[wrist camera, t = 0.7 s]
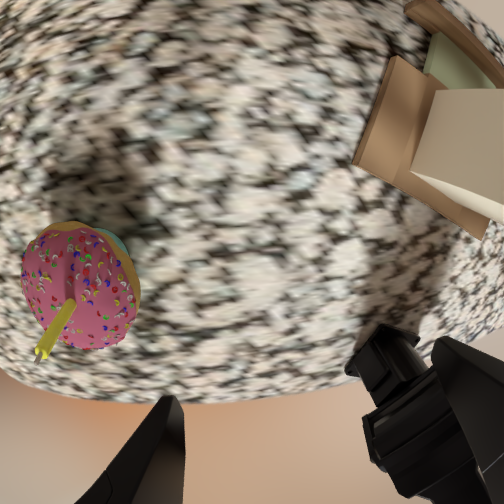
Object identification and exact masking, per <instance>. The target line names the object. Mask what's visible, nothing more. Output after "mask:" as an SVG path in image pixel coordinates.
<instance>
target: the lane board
mask: <svg viewBox="0 0 504 504" xmlns="http://www.w3.org/2000/svg"><path fill="white" fill-rule="evenodd" d="M404 14H405V15H407V16H408V17H410V18H411V19H412V20H414V21H415V22H416V23H418V24H419V25H420V26H422V27H423V28H424V29H426V30H427V31H428V32H429V33H431V34H432V37H431V41H430V45H429V50H428V54H427V57H426V61H425V65H424V69H423V72H422V73H421V72H420V71H419V70H417V69H416V68H415V67H413V66H412V65H411V64H409V63H408V62H406V61H405V60H404V59H402V58H401V57H399V56H398V55H397V56H394V57H391V58H390V60H389V63H388V66H387V70H386V73H385V76H384V78H383V81H382V84H381V87H380V90H379V93H378V96H377V99H376V102H375V104H374V107H373V110H372V113H371V115H370V118H369V121H368V123H367V126H366V129H365V131H364V134H363V137H362V139H361V142H360V144H359V147H358V150H357V152H356V155H355V157H354V160H353V162H352V165H354V166H356V167H358V168H360V169H362V170H364V171H366V172H368V173H370V174H372V175H374V176H376V177H378V178H380V179H382V180H384V181H385V182H387V183H389V184H391V185H393V186H394V187H396V188H398V189H400V190H402V191H403V192H405V193H407V194H409V195H410V196H412V197H414V198H415V199H417V200H419V201H420V202H422V203H424V204H425V205H427V206H429V207H430V208H432V209H433V210H435V211H437V212H438V213H440V214H441V215H443V216H444V217H446V218H447V219H449V220H450V221H452V222H453V223H455V224H456V225H458V226H459V227H461V228H462V229H464V230H465V231H466V232H468V233H469V234H471V235H472V236H474V237H475V238H477V239H478V240H480V241H481V240H482V238H483V236H484V233H485V231H486V229H487V226H488V224H489V221H490V218H488V217H486V216H484V215H482V214H480V213H477V212H475V211H473V210H471V209H469V208H467V207H465V206H462V205H460V204H458V203H456V202H454V201H453V200H452V199H450V198H449V197H447V196H446V195H445V194H443V193H442V192H440V191H439V190H438V189H436V188H435V187H433V186H432V185H430V184H429V183H427V182H426V181H424V180H423V179H421V178H420V177H418V176H417V175H415V174H414V173H412V172H410V171H409V170H410V168H411V165H412V162H413V160H414V157H415V154H416V151H417V149H418V146H419V143H420V140H421V137H422V134H423V131H424V128H425V125H426V122H427V119H428V116H429V113H430V109H431V106H432V103H433V99H434V96H435V92H436V90H450V89H504V68H503V67H502V66H501V65H500V63H499V62H498V61H497V60H496V59H495V57H494V56H493V55H492V54H491V53H490V52H489V51H488V50H487V48H486V47H485V46H484V45H483V44H482V43H481V42H480V41H479V40H478V39H477V38H476V37H475V36H474V35H473V34H472V33H471V32H470V31H469V30H468V29H467V28H466V27H465V26H464V25H463V24H462V23H461V22H460V21H459V20H458V19H457V18H456V17H455V16H453V15H452V14H451V13H450V12H449V11H448V10H447V9H445V8H444V7H443V6H442V5H441V4H439V3H438V2H437V1H436V0H413V1H411V2H409V3H408V4H406V6H405V10H404Z"/></svg>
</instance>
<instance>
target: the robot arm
mask: <svg viewBox="0 0 504 504" xmlns="http://www.w3.org/2000/svg"><path fill="white" fill-rule="evenodd" d="M382 329H383V330H382ZM420 339H421V338H420V336H419V335H417V334H414V333H411V332H408V331H405V330H402V329H399V328H396V327H393V326H390V325H387V324H381V325H379V327H378V328H377V329H376V331H375V332H374V333H373V335H372V336H371V337H370V338H369V340H368V341H367V342H366V344H365V345H364V346H363V347H362V349H361V350H360V351H359V353H358V354H357V355H356V356H355V357H354V359H353V360H352V361H351V362H350V364H349V365H348V366H347V367H346V368H345V370H344V371H345V374H346V375H349V376H354V377H361V379H362V381H363V383H364V385H365V387H366V389H367V391H368V392H369V393H370V395H371V397H372V399H373V401H374V403H375V405H376V407H378V408H377V409H376V410H374V411H372V412H371V413H369V414H366V415H365V416H363V417H362V421H363V429H364V434H365V438H366V443H367V447H368V452H369V456H370V461H371V462H372V463H374V464H376V465H377V466H378V468H379V469H380V470H381V471H383V472H385V473H388V474H389V476H390V477H391V479H392V481H393V483H394V485H395V488H396V489H397V492H398V493H399V494H400V495H402V496H404V497H405V498H408V499H410V498H411V497H413V496H419V497H421V498H424V499H427V500H430V501H431V502H432V503H433V504H504V362H503V361H501V360H499V359H497V358H495V357H493V356H490V355H488V354H486V353H484V352H481V351H479V350H477V349H475V348H473V347H471V346H468V345H466V344H464V343H462V342H459V341H457V340H455V339H453V338H451V337H448V336H442V337H440V338H437V339H436V341H435V343H434V346H433V350H432V353H431V361H432V363H433V365H432V366H431V367H430V368H428V367H427V365H426V364H425V362H424V361H423V360H422V358H421V357H420V356H419V354H418V353H417V351H416V350H415V349H414V347H415V346H416V345H417V344H418V342H419V341H420ZM185 455H186V452H185V431H184V412H183V409H182V407H181V405H180V403H179V402H178V400H177V398H176V396H174V395H164V396H162V397H161V398H160V399H159V400H158V402H157V403H156V404H155V406H154V407H153V408H152V410H151V411H150V412H149V414H148V415H147V416H146V418H145V419H144V420H143V421H142V423H141V424H140V425H139V427H138V428H137V429H136V431H135V432H134V433H133V434H132V436H131V437H130V438H129V440H128V441H127V442H126V443H125V445H124V446H123V447H122V449H121V450H120V451H119V453H118V454H117V455H116V457H115V458H114V459H113V460H112V461H111V463H110V464H109V465H108V467H107V468H106V470H104V472H103V473H102V474H101V475H100V477H99V478H98V479H97V480H96V481H95V483H94V484H93V485H92V486H91V487H90V488H89V489H88V491H86V492H85V494H84V495H83V496H82V497H81V498H80V499H79V500H77V501H76V502H75V503H74V504H182V503H183V487H184V470H185ZM478 466H479V467H478ZM479 468H480V469H479Z"/></svg>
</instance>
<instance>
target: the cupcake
mask: <svg viewBox="0 0 504 504" xmlns="http://www.w3.org/2000/svg"><path fill="white" fill-rule="evenodd" d="M24 254H25V255H24ZM23 256H24V257H23V259H22V261H23V263H22V269H21V287H22V288H23V290H22V293H23V295H25V297H26V300H27V303H28V305H29V307H30V309H31V311H32V313H33V315H34V316H35V318H36V319H37V321H38V322H39V323H40V324H41V326H42V327H43V328H44V330H45V331H46V332H45V333H44V335H43V336H42V338H41V339H40V341H39V343H38V344H37V346H36V348H35V353H36V354H37V357H36V359H35V361H34V364H35V365H36V366H37V365H38V364H39V362H40V360H41V358H42V359H46V358H47V357H48V355H49V354H50V352H51V350H52V348H53V346H54V344H55V343H56V341H57V339H58V340H59V342H60V343H62V341H63V342H64V343H66V344H67V345H71V346H72V347H74V346H76V348H82V349H83V350H87V349H91V350H93V349H94V350H93V351H95V350H98V349H104V347H107V346H110V345H113V344H116V346H117V343H118V342H120V341H121V340H123V339H124V338H125V335H126V333H127V332H128V330H129V329H130V327H131V325H132V324H133V322H134V321H135V318H136V315H137V312H138V309H139V304H140V295H141V290H140V282H139V279H138V276H137V274H136V271H135V269H134V265H133V262H132V260H131V258H130V257H129V255H128V252H127V249H126V247H125V246H124V244H123V243H122V241H121V240H120V239H119V238H118V237H117V236H116V235H115V234H113V233H112V232H110V231H108V230H105V229H102V228H92V227H90V226H88V225H85V224H83V223H81V222H78V221H68V222H60V223H54V224H51V225H49V226H48V227H46V228H45V229H44V230H43V231H42V232H41V233H40V234H39V235H38V236H37V237H36V239H35V240H33V241H31V242H30V243H29V245H28V247H27V249H26V250H25V253H23Z"/></svg>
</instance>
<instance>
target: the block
mask: <svg viewBox="0 0 504 504" xmlns="http://www.w3.org/2000/svg"><path fill="white" fill-rule="evenodd" d="M409 171H410V172H412V173H414V174H415V175H417V176H418V177H420V178H421V179H423V180H424V181H426V182H427V183H429V184H430V185H432V186H433V187H435V188H436V189H438V190H439V191H440V192H442V193H443V194H445V195H446V196H447V197H449V198H450V199H452V200H453V201H454V202H456V203H458V204H460V205H462V206H465V207H467V208H469V209H471V210H473V211H475V212H477V213H480V214H482V215H484V216H486V217H488V218H490V219H492V220H494V221H496V222H498V223H500V224H502V225H504V89H450V90H436V92H435V96H434V99H433V103H432V106H431V109H430V113H429V116H428V119H427V122H426V125H425V128H424V131H423V134H422V137H421V140H420V143H419V146H418V149H417V151H416V154H415V157H414V160H413V162H412V165H411V168H410V170H409Z"/></svg>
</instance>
